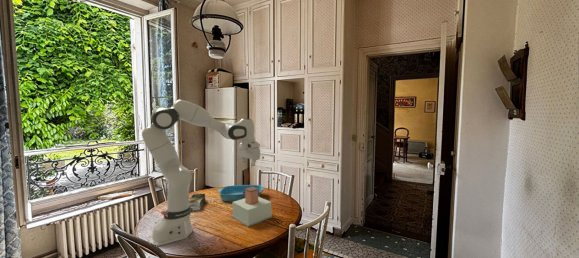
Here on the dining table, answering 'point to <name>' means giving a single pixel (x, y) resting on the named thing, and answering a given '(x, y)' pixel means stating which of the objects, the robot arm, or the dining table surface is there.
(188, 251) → the dining table surface
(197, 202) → the juice carton
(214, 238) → the dining table surface
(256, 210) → the housing
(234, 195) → the casserole dish
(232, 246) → the dining table surface
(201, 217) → the dining table surface
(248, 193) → the plunger
